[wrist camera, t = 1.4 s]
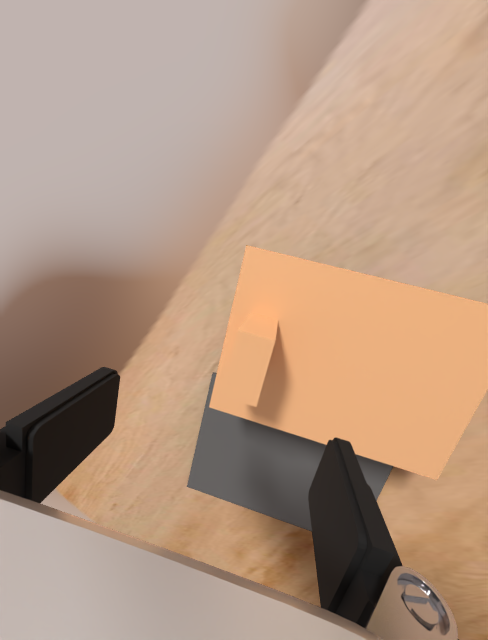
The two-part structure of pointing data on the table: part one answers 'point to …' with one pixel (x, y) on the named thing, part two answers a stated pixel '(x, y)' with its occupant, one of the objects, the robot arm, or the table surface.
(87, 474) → the table surface
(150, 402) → the table surface
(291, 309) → the lid
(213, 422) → the mat
